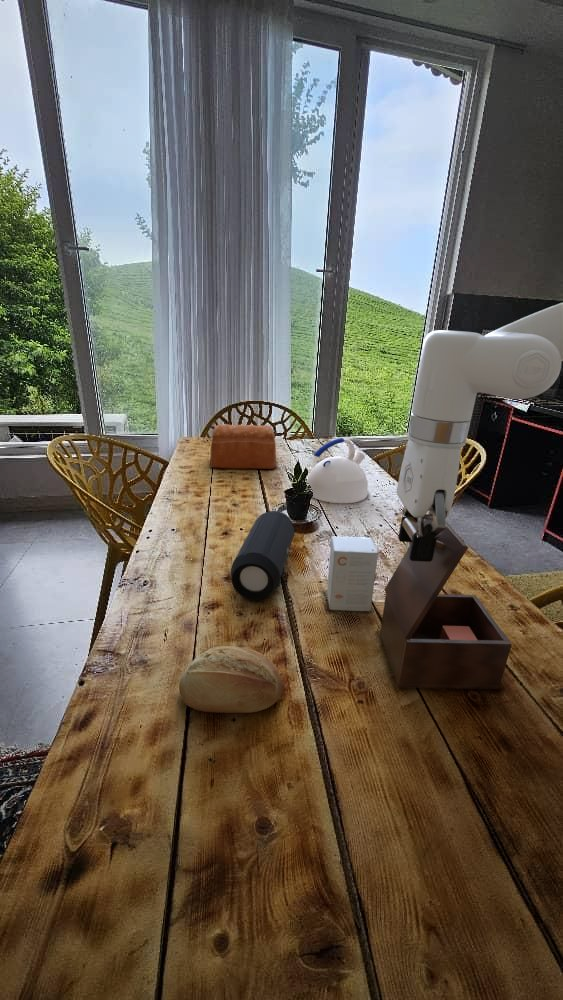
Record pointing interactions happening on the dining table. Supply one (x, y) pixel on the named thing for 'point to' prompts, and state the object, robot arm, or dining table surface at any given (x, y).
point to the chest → (447, 647)
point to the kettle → (339, 476)
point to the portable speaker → (263, 556)
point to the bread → (243, 447)
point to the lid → (422, 577)
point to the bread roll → (230, 681)
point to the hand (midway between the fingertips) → (414, 549)
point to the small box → (351, 573)
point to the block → (457, 633)
